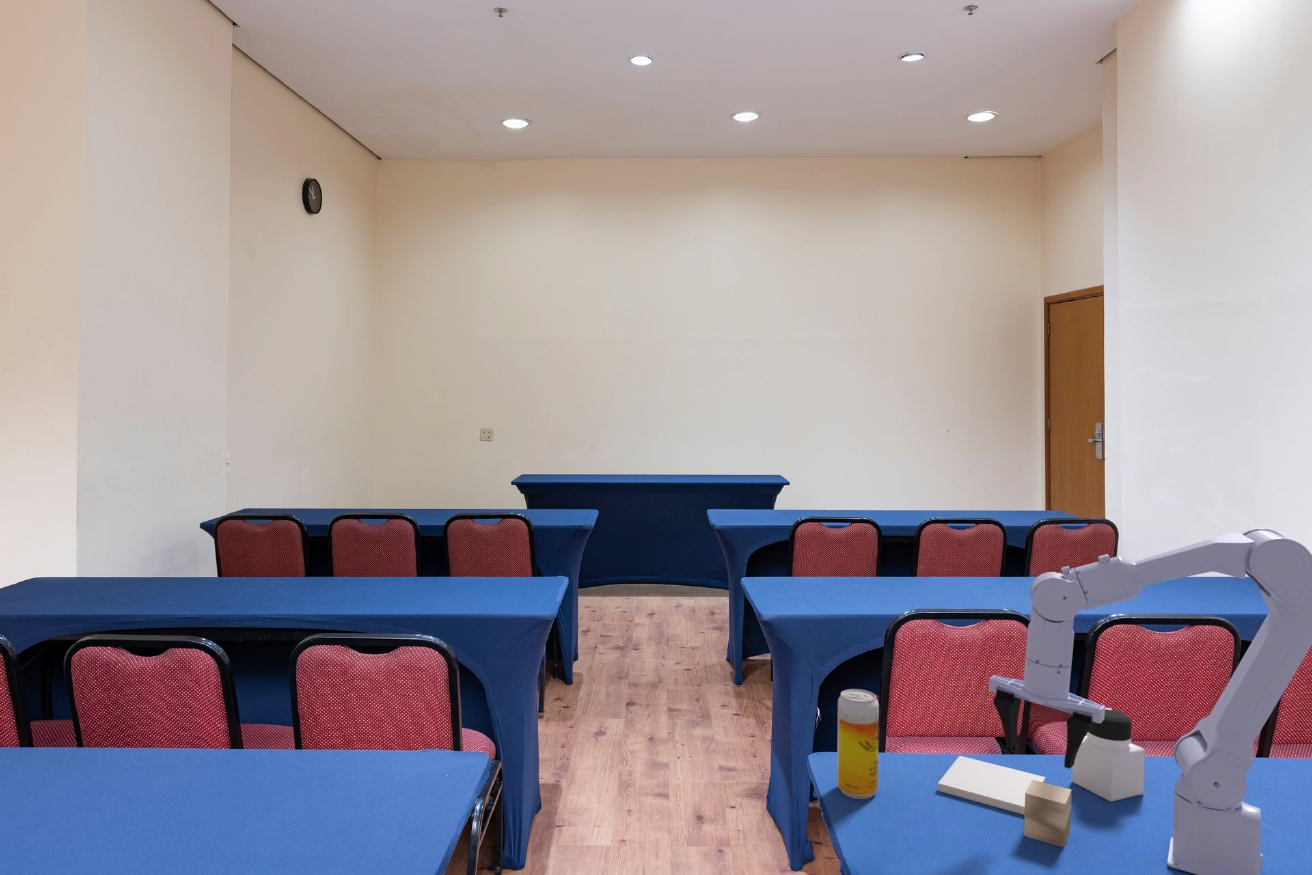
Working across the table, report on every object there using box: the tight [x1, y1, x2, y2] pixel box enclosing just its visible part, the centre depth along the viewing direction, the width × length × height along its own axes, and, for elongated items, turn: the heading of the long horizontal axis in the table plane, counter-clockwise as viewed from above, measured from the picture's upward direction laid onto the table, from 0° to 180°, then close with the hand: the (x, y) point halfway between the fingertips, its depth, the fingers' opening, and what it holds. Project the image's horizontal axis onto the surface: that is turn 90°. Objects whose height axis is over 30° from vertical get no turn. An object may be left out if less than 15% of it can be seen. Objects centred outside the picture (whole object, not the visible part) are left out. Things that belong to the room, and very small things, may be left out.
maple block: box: [1023, 780, 1072, 848], centre depth 111 cm, size 5×5×6 cm
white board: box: [937, 755, 1046, 816], centre depth 124 cm, size 13×12×1 cm
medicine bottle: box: [1071, 707, 1146, 802], centre depth 124 cm, size 7×7×12 cm
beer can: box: [836, 688, 880, 800], centre depth 123 cm, size 6×6×15 cm
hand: (1039, 755), depth 111 cm, fingers open, 7 cm apart
